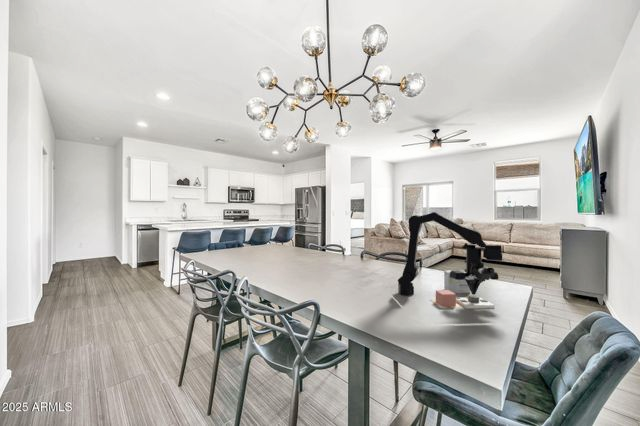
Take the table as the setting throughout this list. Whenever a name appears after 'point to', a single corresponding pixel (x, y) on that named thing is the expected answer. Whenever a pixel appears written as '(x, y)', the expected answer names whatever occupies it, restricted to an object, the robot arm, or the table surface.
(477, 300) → the dark grey block
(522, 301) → the table surface
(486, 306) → the panel
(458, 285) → the light bulb box
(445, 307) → the pad
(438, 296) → the pink block
